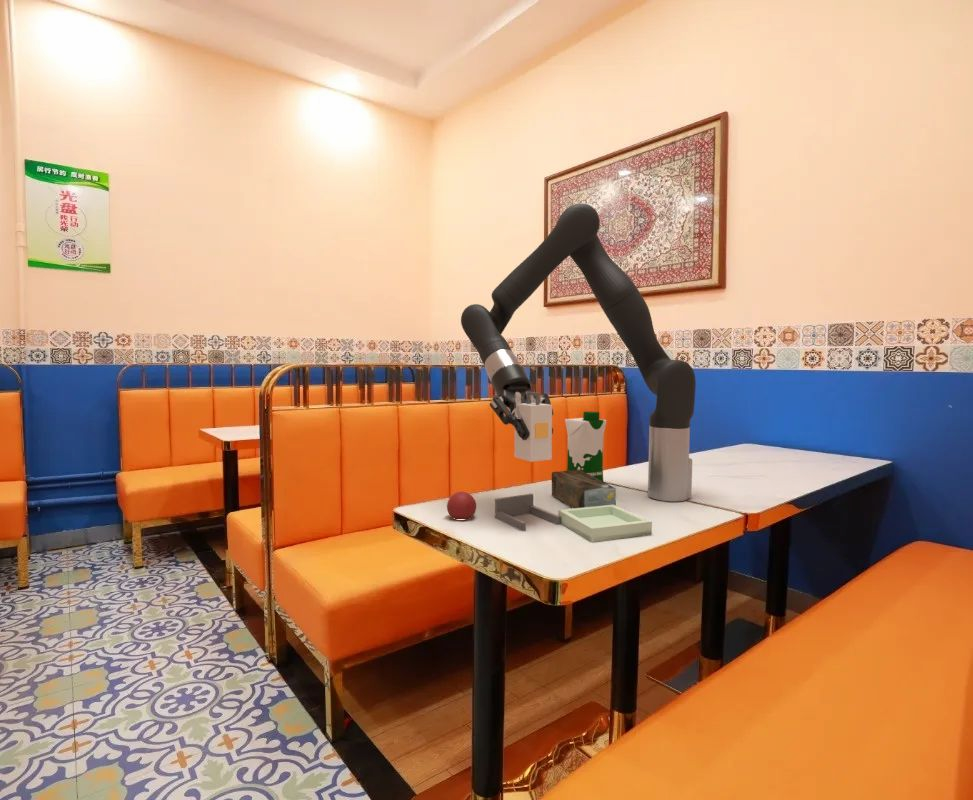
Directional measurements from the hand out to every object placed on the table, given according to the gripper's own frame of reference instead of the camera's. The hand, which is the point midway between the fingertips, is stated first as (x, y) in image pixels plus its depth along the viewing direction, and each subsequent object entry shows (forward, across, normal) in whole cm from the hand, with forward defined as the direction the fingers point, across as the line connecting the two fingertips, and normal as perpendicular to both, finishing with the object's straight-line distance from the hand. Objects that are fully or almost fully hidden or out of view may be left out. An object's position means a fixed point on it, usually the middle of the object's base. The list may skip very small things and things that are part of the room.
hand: (538, 436), depth 107 cm
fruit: (+5, -12, +20) cm, 24 cm away
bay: (+11, -1, +14) cm, 18 cm away
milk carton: (-1, +29, +27) cm, 39 cm away
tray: (+19, +10, +6) cm, 22 cm away
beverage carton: (+7, +18, +19) cm, 27 cm away
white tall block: (+2, 0, +5) cm, 5 cm away
